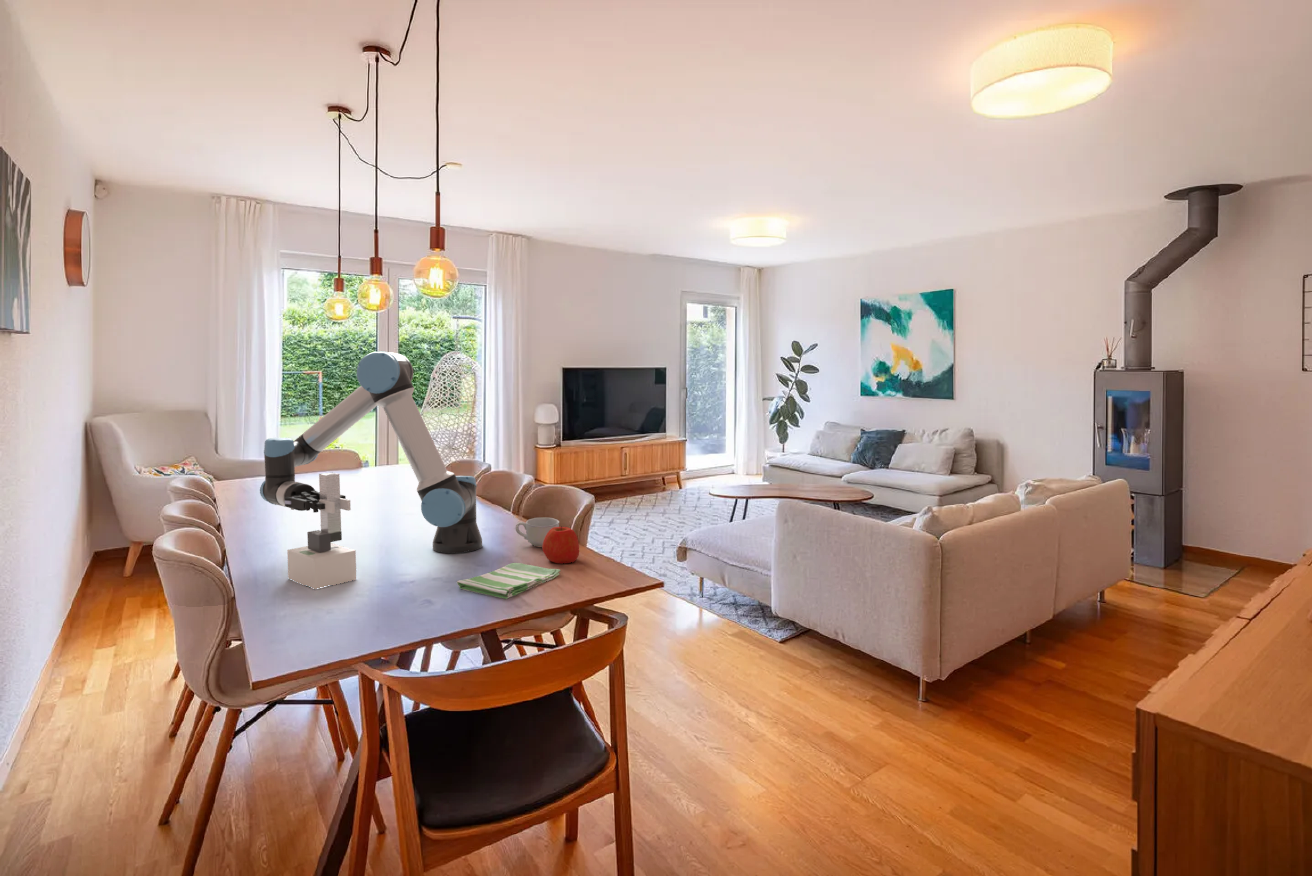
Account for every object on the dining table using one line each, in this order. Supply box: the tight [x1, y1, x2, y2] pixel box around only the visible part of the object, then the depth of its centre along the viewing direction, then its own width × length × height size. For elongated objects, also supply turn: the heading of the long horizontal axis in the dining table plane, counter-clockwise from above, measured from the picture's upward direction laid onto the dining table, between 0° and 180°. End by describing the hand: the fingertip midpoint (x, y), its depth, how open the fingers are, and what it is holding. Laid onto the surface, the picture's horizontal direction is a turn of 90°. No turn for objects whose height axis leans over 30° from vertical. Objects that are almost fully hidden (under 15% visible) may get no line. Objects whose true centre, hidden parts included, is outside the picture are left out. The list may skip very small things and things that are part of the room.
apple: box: [541, 526, 580, 565], centre depth 200 cm, size 11×11×11 cm
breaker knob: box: [307, 529, 332, 552], centre depth 178 cm, size 3×6×4 cm, turn 54°
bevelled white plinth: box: [287, 542, 357, 590], centre depth 179 cm, size 11×14×8 cm
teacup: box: [515, 517, 560, 547], centre depth 219 cm, size 14×11×8 cm
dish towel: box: [456, 562, 561, 600], centre depth 180 cm, size 18×23×3 cm
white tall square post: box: [318, 471, 343, 543], centre depth 180 cm, size 4×4×18 cm
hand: (341, 506), depth 177 cm, fingers closed on white tall square post, 4 cm apart
